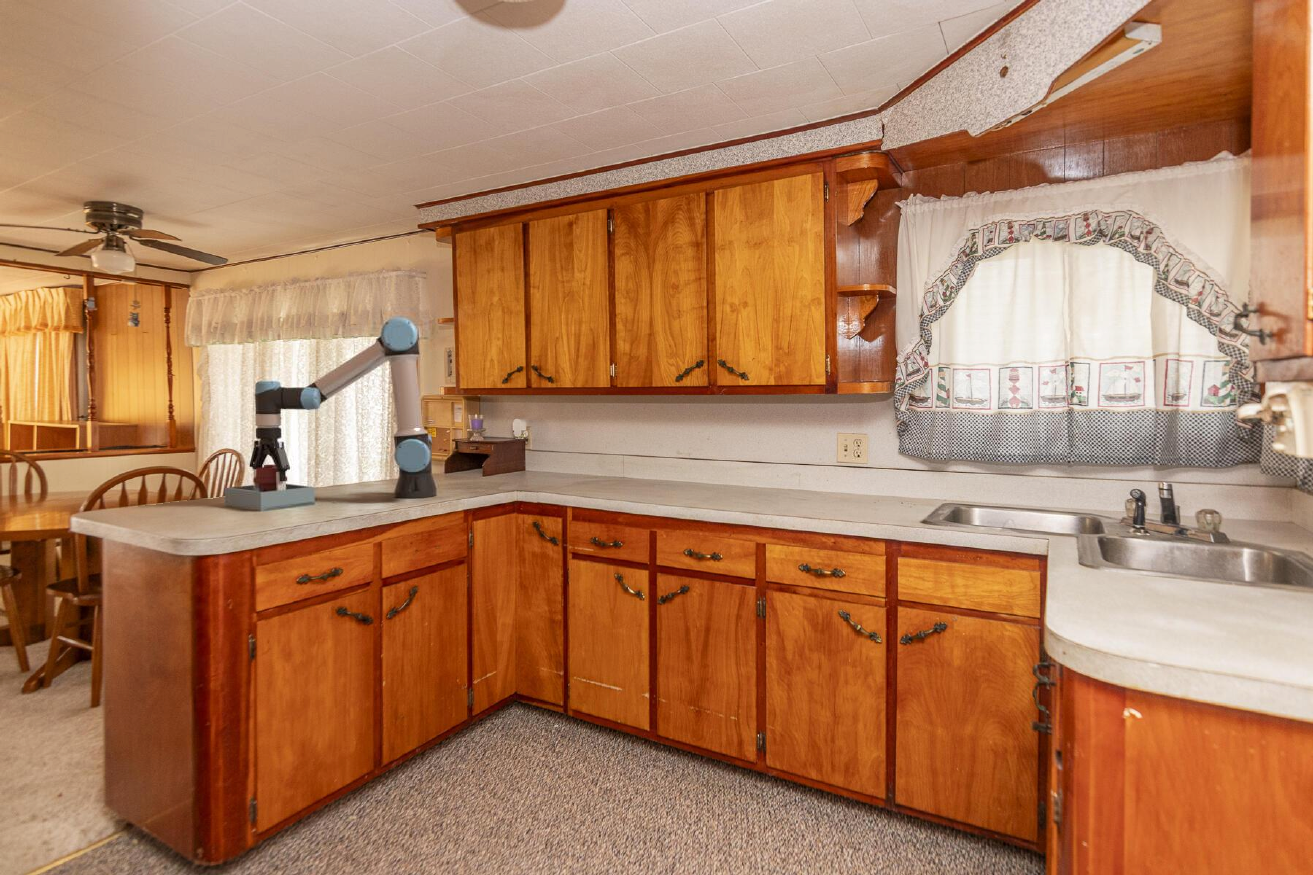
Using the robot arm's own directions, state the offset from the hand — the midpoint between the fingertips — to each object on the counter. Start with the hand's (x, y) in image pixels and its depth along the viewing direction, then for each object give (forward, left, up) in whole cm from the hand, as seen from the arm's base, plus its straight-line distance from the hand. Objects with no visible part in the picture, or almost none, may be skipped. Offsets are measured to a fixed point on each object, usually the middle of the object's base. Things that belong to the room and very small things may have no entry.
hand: (269, 489), depth 232 cm
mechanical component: (0, 0, -4) cm, 4 cm away
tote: (0, 0, -5) cm, 5 cm away
